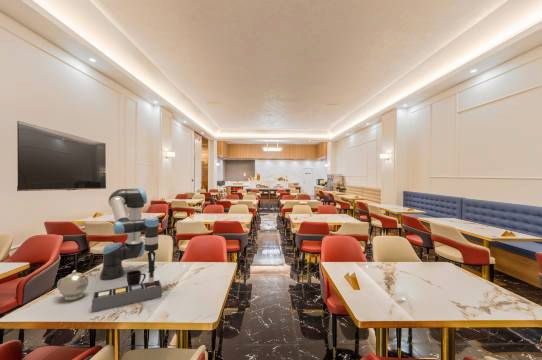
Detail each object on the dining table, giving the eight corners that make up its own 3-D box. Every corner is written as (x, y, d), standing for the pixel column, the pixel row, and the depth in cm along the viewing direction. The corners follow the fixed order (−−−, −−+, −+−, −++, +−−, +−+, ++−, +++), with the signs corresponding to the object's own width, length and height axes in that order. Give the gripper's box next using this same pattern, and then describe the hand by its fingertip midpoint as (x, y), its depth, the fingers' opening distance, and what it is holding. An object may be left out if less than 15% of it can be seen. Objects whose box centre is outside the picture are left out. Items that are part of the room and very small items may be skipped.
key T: (115, 296, 144) (115, 289, 144) (125, 294, 147) (125, 287, 147) (115, 299, 140) (115, 292, 140) (125, 297, 143) (125, 290, 143)
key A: (98, 299, 140) (98, 292, 140) (109, 297, 143) (109, 290, 143) (98, 303, 136) (98, 296, 136) (109, 300, 139) (109, 294, 139)
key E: (146, 293, 153) (146, 286, 153) (155, 291, 155) (155, 285, 155) (147, 296, 148) (147, 289, 148) (156, 294, 151) (156, 288, 151)
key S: (131, 292, 149) (131, 286, 149) (140, 290, 151) (140, 284, 151) (131, 296, 144) (131, 289, 144) (141, 294, 147) (141, 287, 147)
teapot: (94, 293, 156) (94, 266, 156) (76, 303, 142) (76, 274, 142) (67, 292, 157) (67, 266, 157) (46, 302, 143) (46, 274, 143)
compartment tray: (93, 304, 141) (93, 292, 141) (159, 290, 159) (159, 280, 159) (92, 312, 133) (92, 299, 133) (161, 297, 150) (161, 285, 150)
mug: (140, 290, 160) (141, 275, 160) (123, 289, 161) (123, 274, 161) (148, 285, 168) (148, 270, 168) (132, 284, 169) (132, 270, 169)
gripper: (143, 241, 156) (143, 279, 156) (145, 246, 145) (145, 287, 145) (156, 240, 160) (156, 277, 160) (159, 245, 148) (159, 284, 149)
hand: (151, 281), depth 152 cm, fingers closed
